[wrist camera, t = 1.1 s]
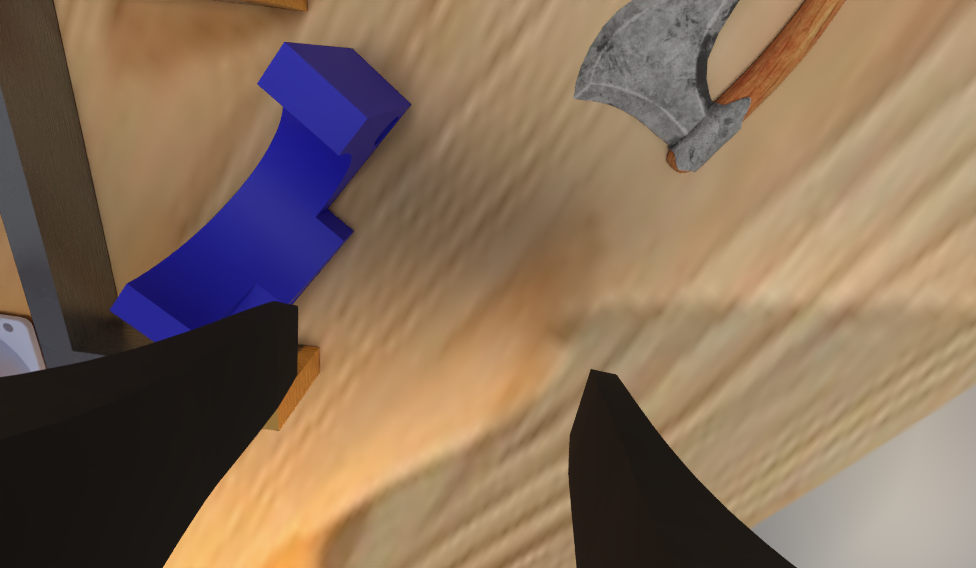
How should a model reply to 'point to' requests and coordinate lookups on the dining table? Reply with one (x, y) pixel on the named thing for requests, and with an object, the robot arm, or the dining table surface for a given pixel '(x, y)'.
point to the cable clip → (275, 198)
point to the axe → (688, 70)
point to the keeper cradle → (69, 202)
